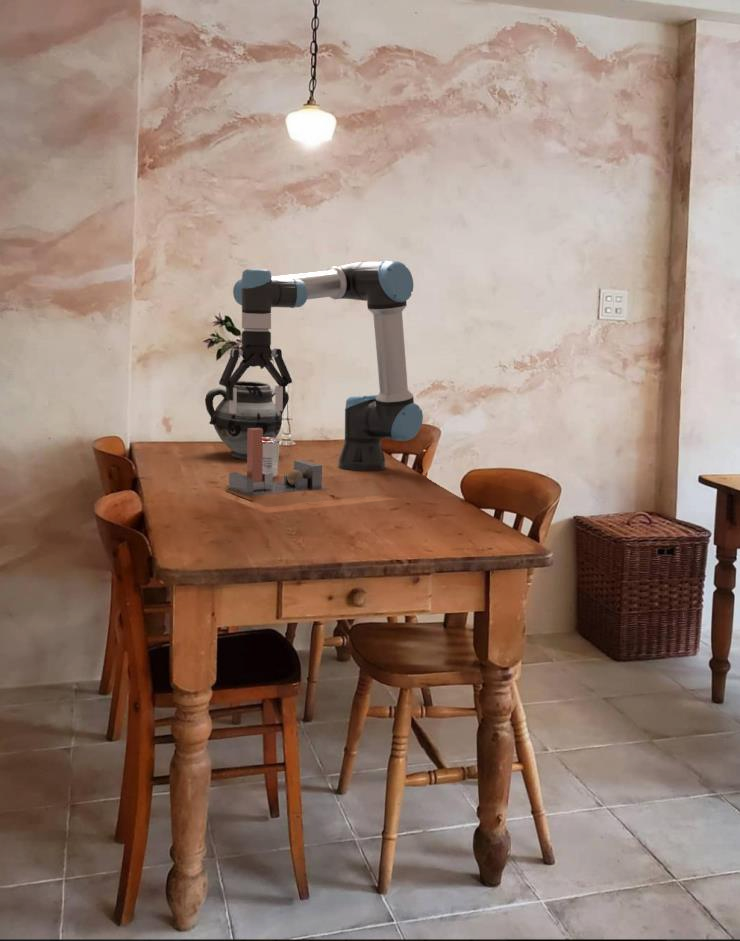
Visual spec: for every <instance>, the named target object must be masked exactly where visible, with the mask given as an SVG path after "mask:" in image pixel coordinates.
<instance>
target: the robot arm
mask: <svg viewBox="0 0 740 941" xmlns="http://www.w3.org/2000/svg"><path fill="white" fill-rule="evenodd" d="M232 291H233V292H232V294H233V298H234V300H235V302H236V303H237V304H238V305H239V306H241V328H242V330H243V331H242V332H241V346H242V347H241V350H240V349H237V348H232V349H230V353H229V358H228V361H227V364H226V366H225V369H224V370H223V373H222V374H221V377H220V380H219V381H218V384H219V385H220V386H223V387H225V389H226V398H227V400H229V413H233V414H237V388H233V387H234V386H235V384H236V383H237V382H238V381H240V379H241V378H242V376H243V375H244V373H245V372H246V371H247V370H248V369H249V368H250V367H254V368H255V367H264V368H265V369H266V370H267V372H268V373H269V375H271V377H272V378H273V380H274V382H276V383H277V385H275V386H274V387H275V395H274V404H275V410H277V411H283V398H285V390H286V387H287V386H288V385H289V384H292V382H293V380H292V377H291V375H290V373H289V370H288V368H287V365H286V363H285V360H284V359H283V353H282V349H280V348H273V349H272V348H271V345H272V332H271V331H270V330H271V329H272V308H289V309H290V308H291V309H294V308H300V307H302V306H304V305H305V303H306V302H307V300H313V299H321V298H331V299H333V300H341V299H343V300H355V301H365V302H366V304H367V310H368V311H370V312H371V313H372V315H373V316H372V317H373V324H374V325H373V326H374V336H375V338H374V339H375V348H376V350H375V351H376V363H377V374H378V384H379V386H378V387H379V393H378V394H375V395H374V394H373V395H357V396H349V397H347V399H346V402H345V408H344V443H343V446H342V449H341V452H340V455H339V458H338V464H337V465H338V468H340V469H343V470H348V471H349V470H350V471H363V472H365V471H366V472H367V471H368V472H369V471H370V472H371V471H380V470H385V469H386V465H387V464H386V458H385V454H384V450H383V447H382V439H388V440H392V441H393V440H394V441H398V442H400V441H402V442H406V441H410V440H413V439H414V438H415V437H416V436H417V435H418V433H419V431H420V430H421V428H422V425H423V420H424V417H423V416H424V415H423V409H422V408H421V407H420V405H418V404H417V403H414V395H413V393H412V392H410V390H409V386H408V374H407V373H408V371H407V361H406V359H407V358H406V349H405V348H406V347H405V346H406V345H405V335H404V321H403V311H404V310H405V308H407V301H408V300H409V299H410V298H411V297H412V292H413V291H414V279H413V276H412V272H411V270H410V269H409V267H408V266H406V265H405V264H404V263H403V262H401V261H394V260H388V259H387V260H369V261H368V260H363V261H362V260H361V261H355V262H352V263H347V264H342V265H336V266H330V267H328V268H327V269H326V270H321V271H312V272H304V273H293V274H292V273H291V274H285V275H275V276H273V275H272V271H271V270H270V269H256V268H255V269H252V268H251V269H250V268H248V269H244V270H243V271H242V273H241V278H240V279H239V280H237V281H236V282H235V284H234V286H233V290H232ZM240 357H242V360H241V361H240V362H239V365H238V366H237V364H238V361H239V359H240ZM271 357H272V358H273V359H274V360H273V361H274V362H275V364H276V367H277V369H278V370H277V369H276V367H275V366H274V364H273V362H272V361H271V360H270V358H271ZM236 366H237V368H236ZM235 368H236V369H235ZM234 370H235V371H234ZM283 412H284V411H283ZM384 468H385V469H384Z"/></svg>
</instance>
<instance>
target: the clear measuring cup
mask: <svg viewBox="0 0 740 941" xmlns="http://www.w3.org/2000/svg"><path fill="white" fill-rule="evenodd" d="M280 441H281V439H280V438H278V437H276V438H271V437H263V462H262V471H266V472H269V473H272V474H273V478H274V477H277V476H278V473H279V471H278V469H279V457H280Z"/></svg>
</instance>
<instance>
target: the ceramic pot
mask: <svg viewBox="0 0 740 941" xmlns="http://www.w3.org/2000/svg"><path fill="white" fill-rule="evenodd" d="M270 385H271V384H269V383H268V382H260V381H253V380H238V382H237V383H236V384H235V386H234V387H233V388H237V414H233V413H229V400H227V398H226V387H225V388H224V387H213V388H212V389H209V390H208V392H207V393H206V395H205V399H204V403H205V408H206V411H207V413H208V415H209V416H210V421H209V425H213V428H214V429H215V431H216V433H217V435H218V437H219V438H220V440H221V441H222V442H223V443H224V445H225V446H226V447H228V449H229V450H230V452H231V453H230V454H231V458H235V459H242V460H247V428H260V429H263V437H271V438H278V435H279V433H280V431H281V428H282V424H283V420H284V419H283V413H284V410H285V409H286V407H287V405H288V403H289V400H290V398H289V397H290V396H289V393H288V391H287V390H286V389H285V398H283V411H277V410H275V401H273V397H275V386H273V387H271V386H270ZM216 396H222V397H223V399H222V400H221V401H220V402H219V403H218V405H217V406H216V408H215V407H214V399H215V397H216Z"/></svg>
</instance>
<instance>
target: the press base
mask: <svg viewBox="0 0 740 941" xmlns="http://www.w3.org/2000/svg"><path fill="white" fill-rule="evenodd" d="M293 470H298V471H300V472H301V473H302V475H303V478H301V479H295V486H293V485H291V484H290V483H289V482H288V480H287V475H288V474H284V475H283V481H275V482H274V481H273V488H272V489H259V490H253V478H250V477H248V476H247V475H245V474H242V473H238V472H229V473H228V486H227V485H225V487H226V488H228V489H230V490H234V491H237V492H239V493H241V494H244V495H246V496H249V497H252V496H263V495H273V494H283V493H285V494H286V493H293V492H304V491H316V490H325V489H328V487H326V486H324V485H323V483H322V482H323V465H322V464H319V463H315V462H311V461H307V460H304V459H299V460H293ZM225 493H227V494H231V495H232V496H236V497H237V498H240V499H243V500H246V501H248V502H252V500H250V499H248V498H245V497H243V496H241V495H238V494H236V493H233V492H230V491H228V490H225Z"/></svg>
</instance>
